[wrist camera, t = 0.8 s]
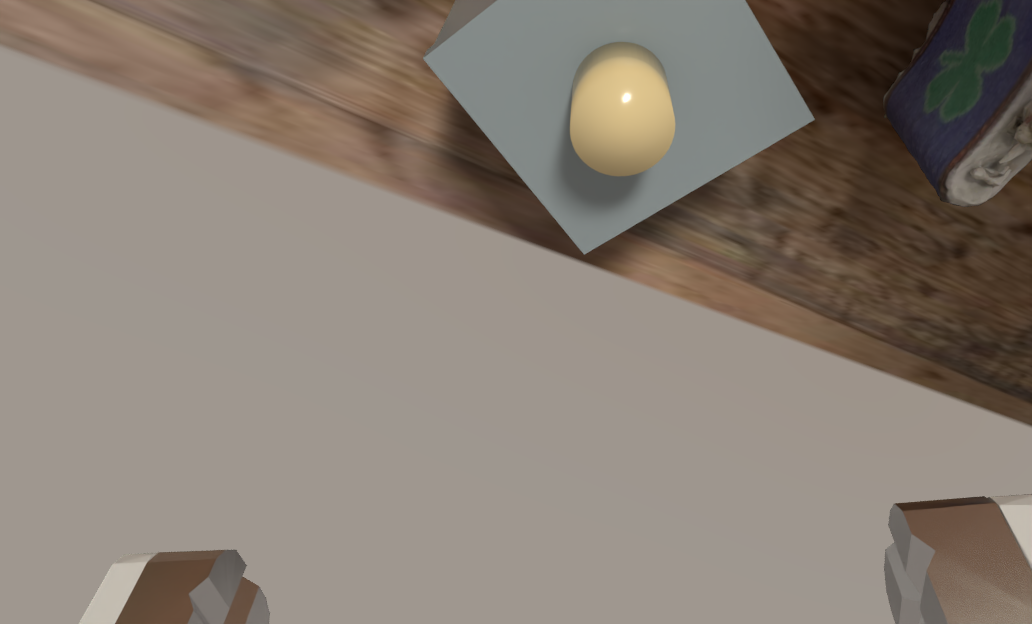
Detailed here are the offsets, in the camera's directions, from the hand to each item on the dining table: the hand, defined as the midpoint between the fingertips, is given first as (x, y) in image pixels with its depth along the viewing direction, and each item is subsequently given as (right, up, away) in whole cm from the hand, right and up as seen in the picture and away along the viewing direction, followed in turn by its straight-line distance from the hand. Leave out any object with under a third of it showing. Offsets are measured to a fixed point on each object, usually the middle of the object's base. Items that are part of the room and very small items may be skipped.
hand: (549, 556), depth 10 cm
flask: (+20, +16, +27) cm, 37 cm away
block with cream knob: (+4, +12, +21) cm, 24 cm away
